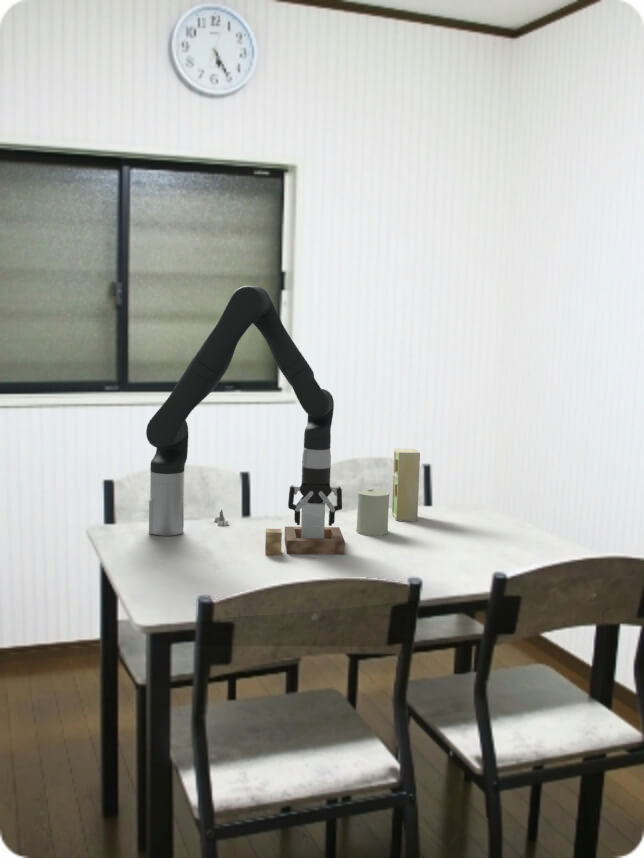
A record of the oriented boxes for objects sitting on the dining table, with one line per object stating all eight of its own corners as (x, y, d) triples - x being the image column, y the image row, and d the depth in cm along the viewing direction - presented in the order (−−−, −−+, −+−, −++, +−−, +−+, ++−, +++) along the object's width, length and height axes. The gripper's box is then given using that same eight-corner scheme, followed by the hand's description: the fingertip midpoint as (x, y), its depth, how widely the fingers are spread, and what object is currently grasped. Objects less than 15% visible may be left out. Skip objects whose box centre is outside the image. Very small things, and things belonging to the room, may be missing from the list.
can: (380, 527, 271) (382, 487, 270) (393, 535, 262) (394, 493, 261) (351, 528, 268) (353, 488, 267) (362, 536, 260) (364, 494, 258)
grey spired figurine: (207, 522, 271) (208, 507, 271) (230, 522, 273) (230, 507, 273) (216, 535, 257) (217, 519, 257) (240, 534, 259) (240, 518, 259)
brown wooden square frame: (286, 553, 239) (287, 540, 239) (284, 538, 254) (284, 526, 253) (344, 554, 240) (344, 541, 240) (338, 539, 255) (339, 527, 255)
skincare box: (324, 545, 249) (325, 501, 247) (323, 549, 245) (324, 504, 243) (301, 543, 249) (303, 500, 248) (300, 548, 245) (301, 503, 244)
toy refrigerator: (388, 514, 288) (391, 448, 285) (412, 515, 288) (415, 448, 286) (393, 520, 280) (396, 452, 277) (417, 521, 281) (420, 452, 278)
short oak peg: (265, 555, 237) (266, 532, 236) (265, 551, 241) (265, 528, 240) (281, 555, 237) (281, 532, 237) (280, 551, 241) (281, 528, 241)
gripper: (290, 466, 240) (288, 528, 242) (344, 468, 241) (342, 528, 243) (288, 461, 247) (287, 521, 249) (341, 463, 248) (339, 522, 251)
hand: (314, 524), depth 246 cm, fingers open, 8 cm apart
